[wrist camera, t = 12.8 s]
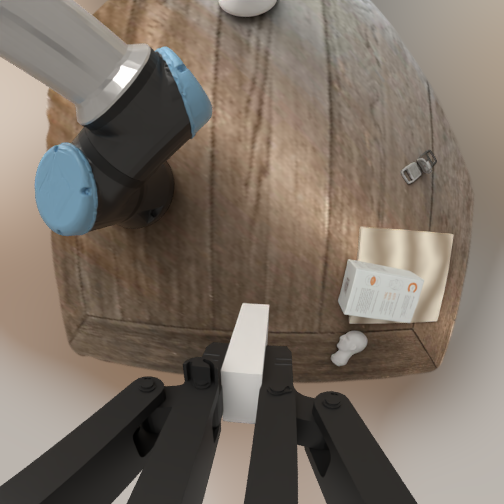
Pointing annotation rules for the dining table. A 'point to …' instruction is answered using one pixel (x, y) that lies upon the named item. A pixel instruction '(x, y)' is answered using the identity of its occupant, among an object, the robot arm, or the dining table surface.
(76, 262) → the dining table surface
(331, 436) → the robot arm
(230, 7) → the flower in vase
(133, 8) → the dining table surface
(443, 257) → the birch board
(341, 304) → the small box
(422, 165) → the strap clip
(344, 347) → the smooth white sculpture
